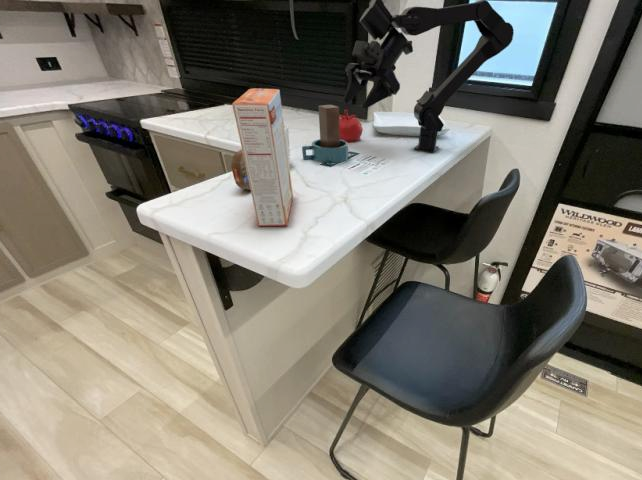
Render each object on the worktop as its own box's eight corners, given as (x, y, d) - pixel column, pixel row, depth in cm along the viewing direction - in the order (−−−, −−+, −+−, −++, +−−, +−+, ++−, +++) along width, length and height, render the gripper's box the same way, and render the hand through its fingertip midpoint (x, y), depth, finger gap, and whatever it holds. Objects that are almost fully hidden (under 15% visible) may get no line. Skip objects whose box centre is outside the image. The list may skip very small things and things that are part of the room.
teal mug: (342, 153, 101) (342, 137, 98) (352, 164, 94) (352, 147, 91) (300, 156, 97) (298, 139, 95) (306, 167, 90) (305, 149, 87)
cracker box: (266, 197, 73) (248, 87, 60) (294, 197, 74) (281, 88, 61) (255, 227, 63) (229, 100, 49) (287, 227, 63) (270, 101, 50)
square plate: (448, 140, 118) (451, 128, 115) (372, 137, 117) (373, 125, 115) (437, 123, 139) (439, 112, 136) (372, 120, 138) (373, 110, 136)
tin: (247, 195, 74) (239, 156, 69) (234, 194, 74) (225, 155, 69) (275, 173, 85) (270, 138, 80) (263, 172, 86) (258, 137, 80)
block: (332, 154, 98) (331, 104, 89) (340, 158, 95) (339, 107, 87) (321, 156, 96) (318, 105, 87) (328, 160, 93) (326, 108, 85)
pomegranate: (367, 142, 112) (368, 111, 106) (342, 146, 107) (341, 114, 101) (352, 135, 118) (352, 106, 112) (327, 139, 113) (326, 108, 107)
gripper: (350, 26, 89) (317, 77, 90) (395, 27, 77) (356, 86, 79) (373, 61, 97) (342, 107, 99) (415, 67, 86) (380, 119, 88)
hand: (353, 104), depth 91 cm, fingers open, 9 cm apart
